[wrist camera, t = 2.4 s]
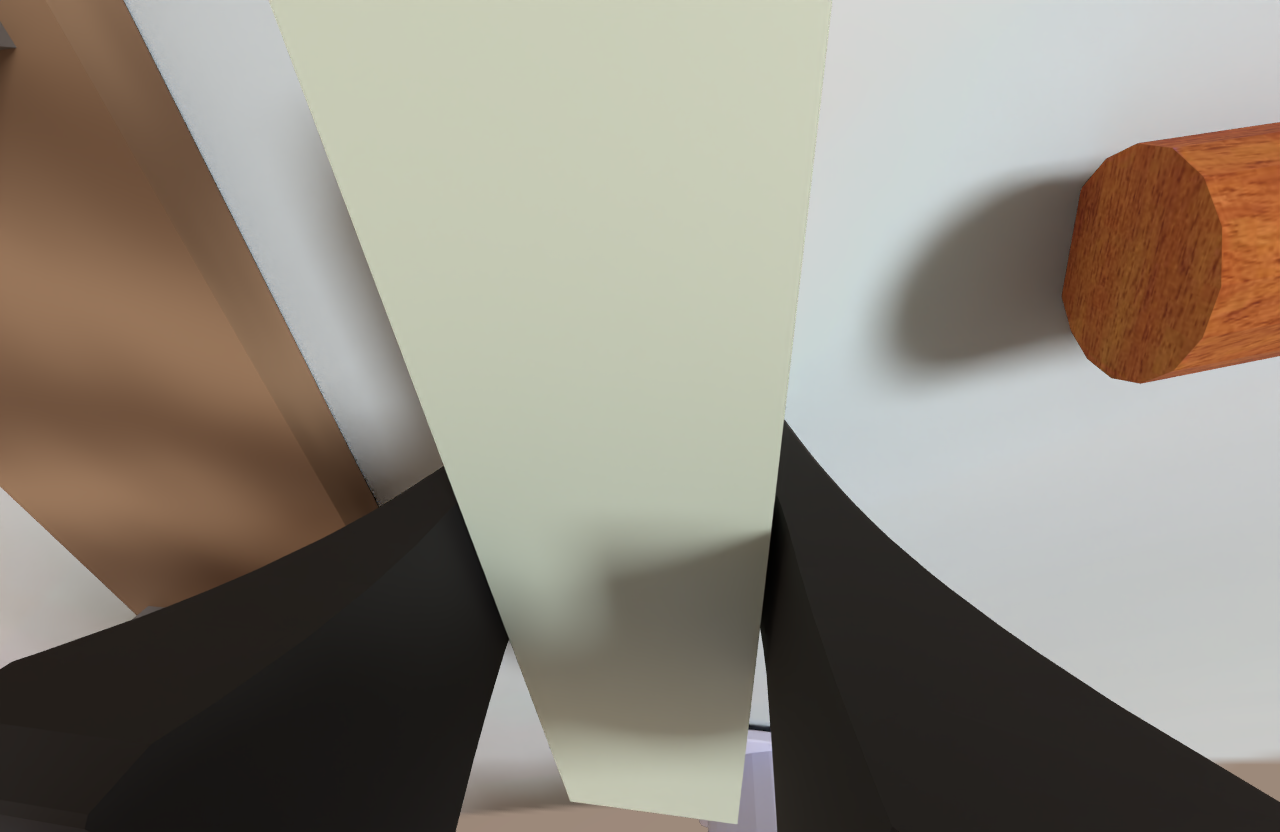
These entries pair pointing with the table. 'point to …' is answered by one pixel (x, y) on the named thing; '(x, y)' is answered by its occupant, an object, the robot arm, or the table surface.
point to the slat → (594, 332)
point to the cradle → (143, 331)
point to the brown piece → (1179, 256)
